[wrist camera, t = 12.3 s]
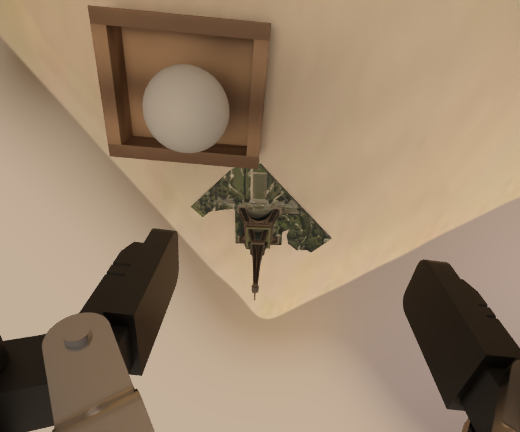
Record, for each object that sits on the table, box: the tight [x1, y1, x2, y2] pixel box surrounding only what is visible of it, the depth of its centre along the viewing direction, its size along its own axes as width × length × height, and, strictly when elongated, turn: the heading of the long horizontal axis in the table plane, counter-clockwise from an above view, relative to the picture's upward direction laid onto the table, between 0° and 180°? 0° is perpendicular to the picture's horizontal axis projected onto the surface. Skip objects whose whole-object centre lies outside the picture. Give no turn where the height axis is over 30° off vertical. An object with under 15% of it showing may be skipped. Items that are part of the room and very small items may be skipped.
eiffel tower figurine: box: [191, 164, 331, 300], centre depth 35 cm, size 15×10×13 cm
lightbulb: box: [142, 64, 229, 153], centre depth 26 cm, size 6×6×11 cm
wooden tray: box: [88, 5, 271, 169], centre depth 30 cm, size 12×14×5 cm
